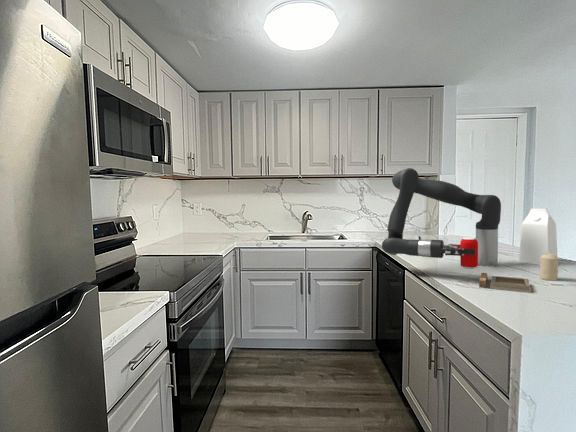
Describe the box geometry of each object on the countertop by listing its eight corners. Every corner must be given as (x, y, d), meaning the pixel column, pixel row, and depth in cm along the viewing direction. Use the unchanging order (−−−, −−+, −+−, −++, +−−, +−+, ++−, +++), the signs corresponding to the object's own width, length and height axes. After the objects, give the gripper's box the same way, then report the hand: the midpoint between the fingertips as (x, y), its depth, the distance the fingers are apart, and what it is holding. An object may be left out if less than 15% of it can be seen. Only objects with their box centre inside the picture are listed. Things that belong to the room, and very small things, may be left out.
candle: (540, 276, 138) (540, 252, 138) (557, 278, 135) (558, 253, 134) (539, 279, 134) (539, 254, 133) (557, 281, 131) (557, 255, 130)
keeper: (491, 281, 134) (491, 275, 134) (528, 284, 127) (528, 278, 127) (490, 288, 124) (490, 282, 123) (530, 292, 117) (530, 286, 117)
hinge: (406, 247, 221) (411, 232, 220) (413, 249, 221) (419, 235, 219) (410, 251, 205) (416, 235, 204) (418, 254, 204) (424, 238, 203)
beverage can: (461, 265, 141) (461, 236, 140) (478, 266, 138) (478, 237, 137) (459, 268, 136) (459, 238, 135) (476, 270, 133) (476, 239, 132)
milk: (557, 262, 164) (558, 208, 162) (548, 265, 157) (549, 209, 155) (529, 258, 173) (529, 207, 172) (518, 262, 167) (519, 209, 165)
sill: (481, 278, 137) (481, 272, 137) (487, 279, 136) (487, 273, 136) (479, 287, 125) (479, 280, 125) (485, 288, 124) (485, 281, 124)
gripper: (427, 242, 138) (474, 244, 129) (433, 237, 150) (477, 238, 141) (427, 260, 138) (474, 263, 129) (433, 254, 150) (477, 256, 141)
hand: (475, 250), depth 135 cm, fingers closed on beverage can, 6 cm apart
